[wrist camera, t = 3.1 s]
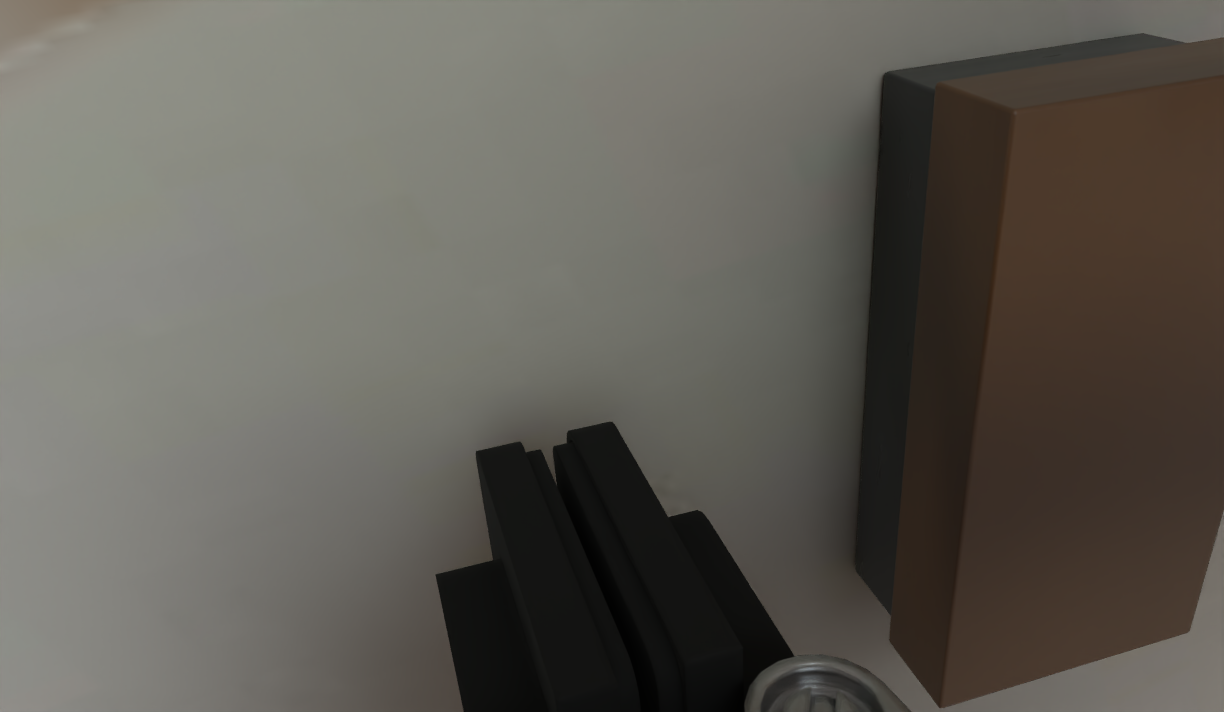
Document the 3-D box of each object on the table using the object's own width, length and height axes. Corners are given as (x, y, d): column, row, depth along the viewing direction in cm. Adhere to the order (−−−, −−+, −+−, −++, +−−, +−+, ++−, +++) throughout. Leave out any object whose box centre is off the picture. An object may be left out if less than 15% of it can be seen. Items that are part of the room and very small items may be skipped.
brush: (869, 57, 13) (1013, 110, 10) (1157, 15, 14) (1354, 53, 11) (842, 582, 17) (939, 710, 15) (1064, 522, 18) (1190, 633, 16)
